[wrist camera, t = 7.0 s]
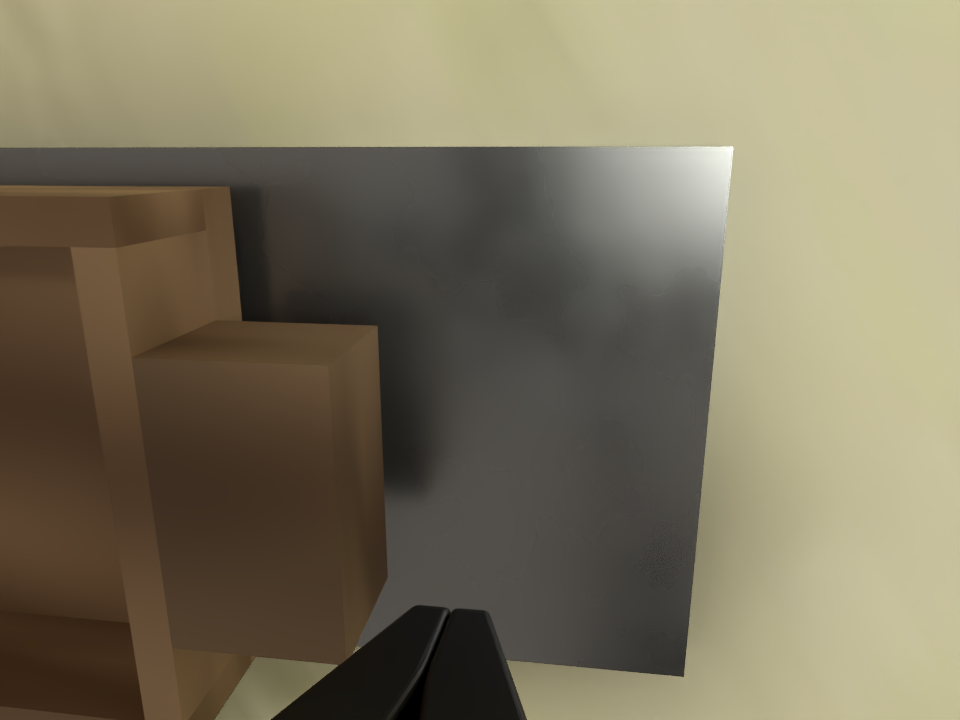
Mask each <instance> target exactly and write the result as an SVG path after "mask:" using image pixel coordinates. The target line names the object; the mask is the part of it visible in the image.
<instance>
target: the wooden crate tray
mask: <svg viewBox="0 0 960 720" xmlns="http://www.w3.org/2000/svg"><path fill="white" fill-rule="evenodd" d="M387 578H388V570H387V545H386V521H385V496H384V472H383V447H382V423H381V398H380V374H379V349H378V326H372V325H341V324H311V323H280V322H250V321H242V313H241V303H240V292H239V281H238V271H237V260H236V250H235V239H234V228H233V218H232V207H231V197H230V187H206V186H35V185H0V720H214V719H215V718H216V716H217V715H218V713H219V712H220V710H221V709H222V707H223V706H224V704H225V703H226V701H227V700H228V698H229V697H230V695H231V694H232V692H233V690H234V689H235V687H236V686H237V684H238V683H239V681H240V680H241V678H242V677H243V675H244V674H245V672H246V671H247V669H248V668H249V666H250V665H251V663H252V662H253V660H254V658H255V657H266V658H276V659H286V660H297V661H307V662H317V663H327V664H337V665H340V664H341V663H343V662H344V661H345V660H346V659H348V658H349V657H350V656H351V655H352V653H353V651H354V649H355V647H356V645H357V642H358V640H359V638H360V636H361V634H362V632H363V630H364V627H365V625H366V623H367V621H368V619H369V617H370V615H371V612H372V610H373V608H374V606H375V604H376V602H377V600H378V597H379V595H380V593H381V591H382V589H383V587H384V585H385V582H386V580H387Z"/></svg>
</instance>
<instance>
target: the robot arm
mask: <svg viewBox="0 0 960 720" xmlns="http://www.w3.org/2000/svg"><path fill="white" fill-rule="evenodd" d="M271 720H527V719H526V716H525V713H524V710H523V707H522V704H521V701H520V699H519V696H518V693H517V690H516V687H515V684H514V681H513V679H512V676H511V673H510V670H509V667H508V664H507V661H506V658H505V656H504V653H503V650H502V647H501V644H500V641H499V638H498V636H497V633H496V630H495V627H494V624H493V621H492V618H491V616H490V614H489V613H488V612H487V611H485V610H476V609H463V608H457V609H454V610H453V611H452V612H450V610H449V609H448V608H446V607H438V606H426V605H416V606H414V607H412V608H410V609H409V610H408V611H407V612H405V613H404V614H403V615H402V616H400V617H399V618H398V619H397V620H395V621H394V622H393V623H391V624H390V625H389V626H388V627H386V628H385V629H384V630H383V631H381V632H380V633H379V634H378V635H376V636H375V637H374V638H373V639H371V640H370V641H369V642H368V643H366V644H365V645H364V646H363V647H361V648H360V649H359V650H358V651H356V652H355V653H354V654H353V655H351V656H350V657H349V658H348V659H346V660H345V661H344V662H343V663H341V664H340V665H339V666H338V667H336V668H335V669H334V670H332V671H331V672H330V673H329V674H327V675H326V676H325V677H324V678H322V679H321V680H320V681H319V682H317V683H316V684H315V685H314V686H312V687H311V688H310V689H309V690H307V691H306V692H305V693H304V694H302V695H301V696H300V697H299V698H297V699H296V700H295V701H294V702H292V703H291V704H290V705H289V706H287V707H286V708H285V709H284V710H282V711H281V712H280V713H279V714H277V715H276V716H275V717H274V718H272V719H271Z"/></svg>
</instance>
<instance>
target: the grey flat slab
mask: <svg viewBox="0 0 960 720" xmlns="http://www.w3.org/2000/svg"><path fill="white" fill-rule="evenodd" d="M732 156H733V147H231V148H0V185H35V186H206V187H230V197H231V207H232V218H233V228H234V239H235V250H236V260H237V271H238V281H239V292H240V303H241V313H242V321H250V322H280V323H311V324H341V325H372V326H378V349H379V374H380V398H381V423H382V447H383V472H384V496H385V521H386V545H387V570H388V578H387V580H386V582H385V585H384V587H383V589H382V591H381V593H380V595H379V597H378V600H377V602H376V604H375V606H374V608H373V610H372V612H371V615H370V617H369V619H368V621H367V623H366V625H365V627H364V630H363V632H362V634H361V636H360V638H359V640H358V642H357V645H356V646H364V645H365V644H366V643H368V642H369V641H370V640H371V639H373V638H374V637H375V636H376V635H378V634H379V633H380V632H381V631H383V630H384V629H385V628H386V627H388V626H389V625H390V624H391V623H393V622H394V621H395V620H397V619H398V618H399V617H400V616H402V615H403V614H404V613H405V612H407V611H408V610H409V609H410V608H412V607H414V606H416V605H426V606H438V607H446V608H448V609H449V610H450V612H452V611H453V610H454V609H457V608H463V609H476V610H485V611H487V612H488V613H489V614H490V616H491V618H492V621H493V624H494V627H495V630H496V633H497V636H498V638H499V641H500V644H501V647H502V650H503V653H504V656H505V658H506V660H513V661H524V662H534V663H545V664H555V665H566V666H576V667H587V668H597V669H608V670H618V671H629V672H639V673H650V674H660V675H671V676H681V677H684V668H685V657H686V647H687V636H688V625H689V615H690V604H691V593H692V583H693V572H694V561H695V551H696V540H697V529H698V519H699V508H700V497H701V487H702V476H703V465H704V455H705V444H706V433H707V423H708V412H709V401H710V391H711V380H712V369H713V359H714V348H715V337H716V327H717V316H718V305H719V295H720V284H721V273H722V263H723V252H724V241H725V231H726V220H727V209H728V199H729V188H730V177H731V167H732Z"/></svg>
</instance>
